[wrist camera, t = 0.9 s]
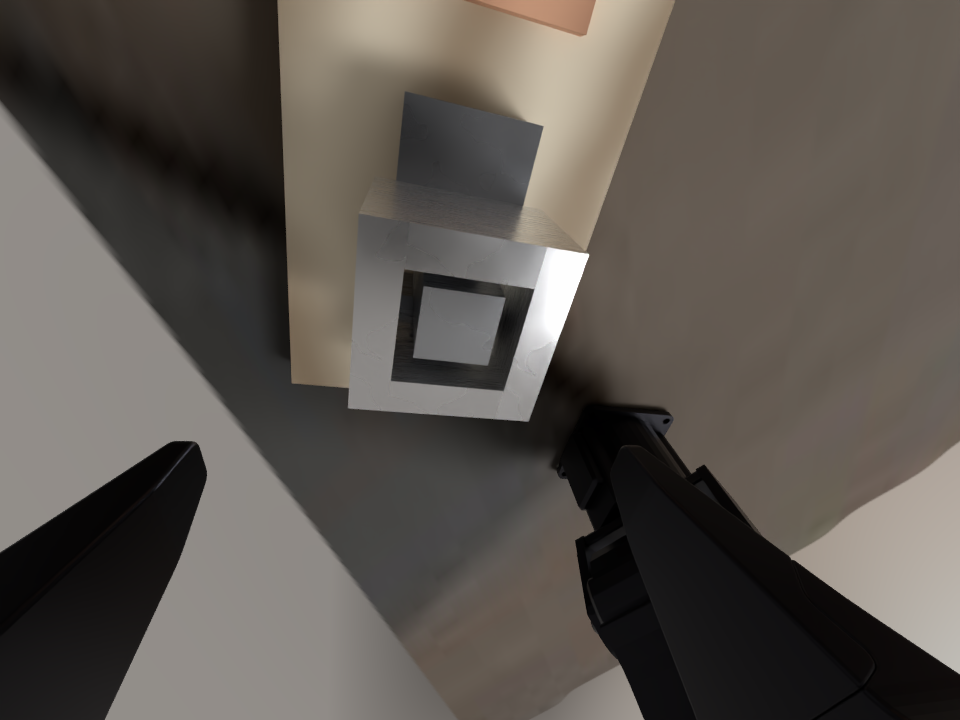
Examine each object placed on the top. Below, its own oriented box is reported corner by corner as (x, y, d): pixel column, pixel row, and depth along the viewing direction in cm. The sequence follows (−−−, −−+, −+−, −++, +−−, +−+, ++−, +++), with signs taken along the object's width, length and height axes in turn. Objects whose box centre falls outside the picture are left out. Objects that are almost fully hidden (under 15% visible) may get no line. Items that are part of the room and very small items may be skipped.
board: (773, -346, 11) (838, -425, 10) (525, 387, 25) (534, 410, 23) (272, -657, 8) (236, -849, 7) (298, 366, 22) (288, 390, 20)
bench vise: (529, 121, 16) (596, 140, 10) (462, 397, 23) (479, 502, 17) (403, 90, 15) (396, 90, 9) (374, 390, 22) (360, 499, 16)
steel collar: (541, 209, 15) (588, 254, 11) (502, 346, 18) (528, 421, 14) (374, 176, 14) (358, 213, 10) (364, 330, 17) (347, 408, 13)
